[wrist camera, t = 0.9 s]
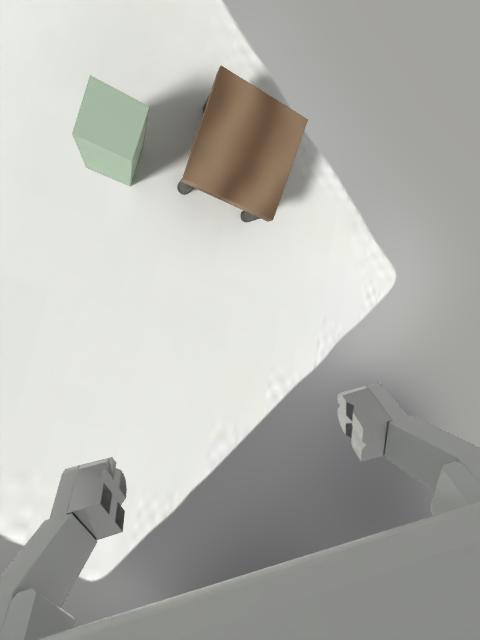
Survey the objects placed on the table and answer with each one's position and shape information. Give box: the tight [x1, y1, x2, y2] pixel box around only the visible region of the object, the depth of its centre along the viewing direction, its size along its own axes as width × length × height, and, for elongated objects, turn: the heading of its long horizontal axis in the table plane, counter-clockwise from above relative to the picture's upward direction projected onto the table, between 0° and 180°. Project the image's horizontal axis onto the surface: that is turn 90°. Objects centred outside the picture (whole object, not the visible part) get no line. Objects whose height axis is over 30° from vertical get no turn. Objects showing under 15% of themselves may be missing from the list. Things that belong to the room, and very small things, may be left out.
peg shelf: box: [177, 66, 307, 222], centre depth 40 cm, size 11×12×8 cm
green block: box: [72, 75, 149, 186], centre depth 34 cm, size 5×5×11 cm
